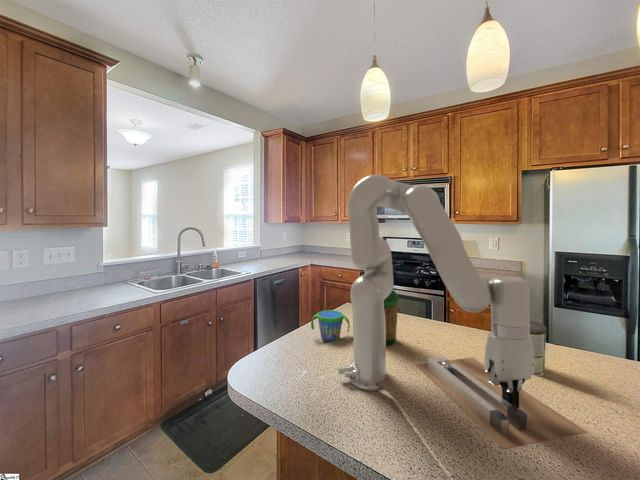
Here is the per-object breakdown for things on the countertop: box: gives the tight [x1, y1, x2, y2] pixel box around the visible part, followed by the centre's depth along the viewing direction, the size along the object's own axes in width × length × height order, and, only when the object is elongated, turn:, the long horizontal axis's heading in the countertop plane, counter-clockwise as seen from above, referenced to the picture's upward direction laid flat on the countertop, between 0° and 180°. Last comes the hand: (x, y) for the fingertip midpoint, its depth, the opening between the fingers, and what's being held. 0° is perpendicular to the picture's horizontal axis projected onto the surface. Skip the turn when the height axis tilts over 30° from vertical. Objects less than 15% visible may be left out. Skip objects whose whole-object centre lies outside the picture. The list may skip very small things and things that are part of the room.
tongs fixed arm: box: [427, 356, 509, 434], centre depth 74 cm, size 28×6×3 cm, turn 11°
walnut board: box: [415, 357, 588, 450], centre depth 75 cm, size 21×34×2 cm, turn 11°
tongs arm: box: [441, 361, 527, 430], centre depth 73 cm, size 25×4×3 cm, turn 13°
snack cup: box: [310, 309, 351, 342], centre depth 114 cm, size 16×10×10 cm
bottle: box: [384, 290, 399, 347], centre depth 107 cm, size 11×11×28 cm
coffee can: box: [530, 320, 548, 377], centre depth 89 cm, size 10×10×14 cm
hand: (510, 405), depth 67 cm, fingers closed
